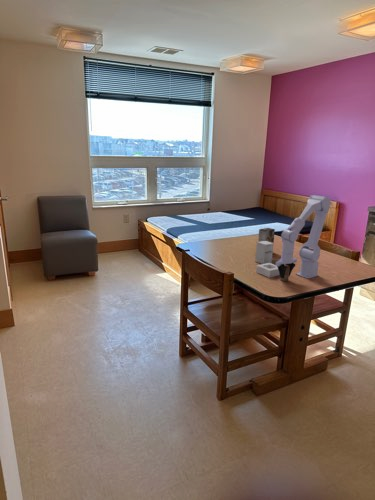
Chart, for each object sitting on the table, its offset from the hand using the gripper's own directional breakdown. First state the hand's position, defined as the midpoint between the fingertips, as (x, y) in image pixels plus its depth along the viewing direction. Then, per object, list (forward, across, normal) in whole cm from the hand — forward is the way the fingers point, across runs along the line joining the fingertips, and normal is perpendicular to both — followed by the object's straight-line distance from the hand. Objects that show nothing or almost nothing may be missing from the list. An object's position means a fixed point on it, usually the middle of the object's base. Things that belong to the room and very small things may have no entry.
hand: (284, 276), depth 183 cm
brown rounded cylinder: (+2, 0, 0) cm, 2 cm away
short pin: (+2, -12, -18) cm, 22 cm away
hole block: (+2, -1, -12) cm, 12 cm away
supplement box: (+2, -13, -28) cm, 31 cm away
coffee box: (+2, -30, -43) cm, 52 cm away
